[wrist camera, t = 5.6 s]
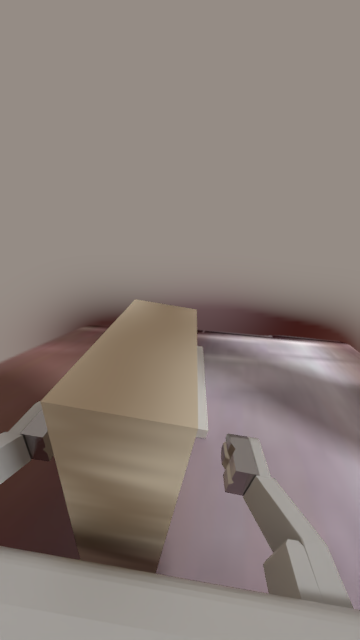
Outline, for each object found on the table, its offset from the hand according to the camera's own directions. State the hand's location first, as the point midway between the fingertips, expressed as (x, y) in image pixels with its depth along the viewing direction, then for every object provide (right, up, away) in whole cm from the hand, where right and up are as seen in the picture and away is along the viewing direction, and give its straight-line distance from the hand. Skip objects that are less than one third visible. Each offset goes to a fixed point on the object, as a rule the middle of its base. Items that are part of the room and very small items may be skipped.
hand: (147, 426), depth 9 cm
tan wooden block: (-1, -7, +3) cm, 8 cm away
